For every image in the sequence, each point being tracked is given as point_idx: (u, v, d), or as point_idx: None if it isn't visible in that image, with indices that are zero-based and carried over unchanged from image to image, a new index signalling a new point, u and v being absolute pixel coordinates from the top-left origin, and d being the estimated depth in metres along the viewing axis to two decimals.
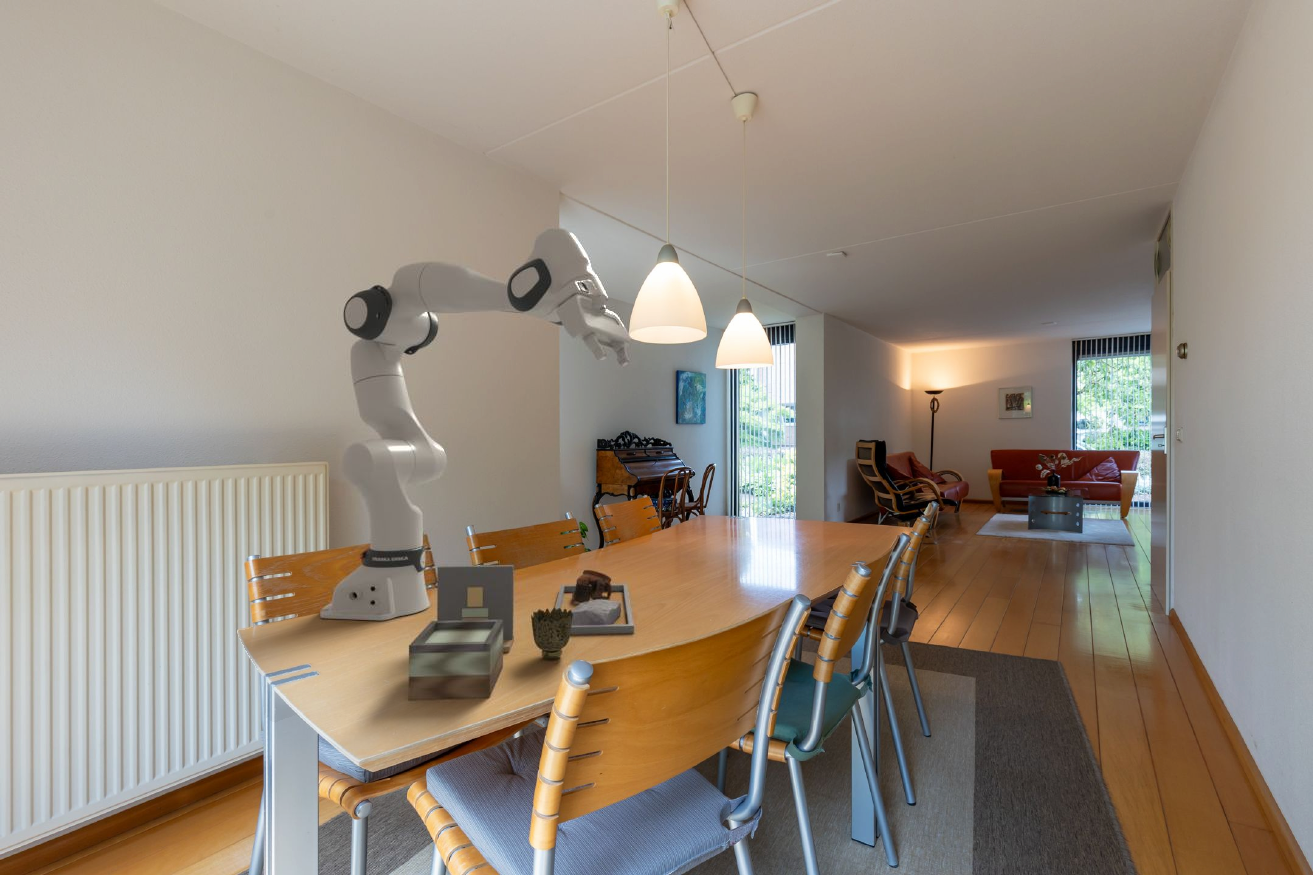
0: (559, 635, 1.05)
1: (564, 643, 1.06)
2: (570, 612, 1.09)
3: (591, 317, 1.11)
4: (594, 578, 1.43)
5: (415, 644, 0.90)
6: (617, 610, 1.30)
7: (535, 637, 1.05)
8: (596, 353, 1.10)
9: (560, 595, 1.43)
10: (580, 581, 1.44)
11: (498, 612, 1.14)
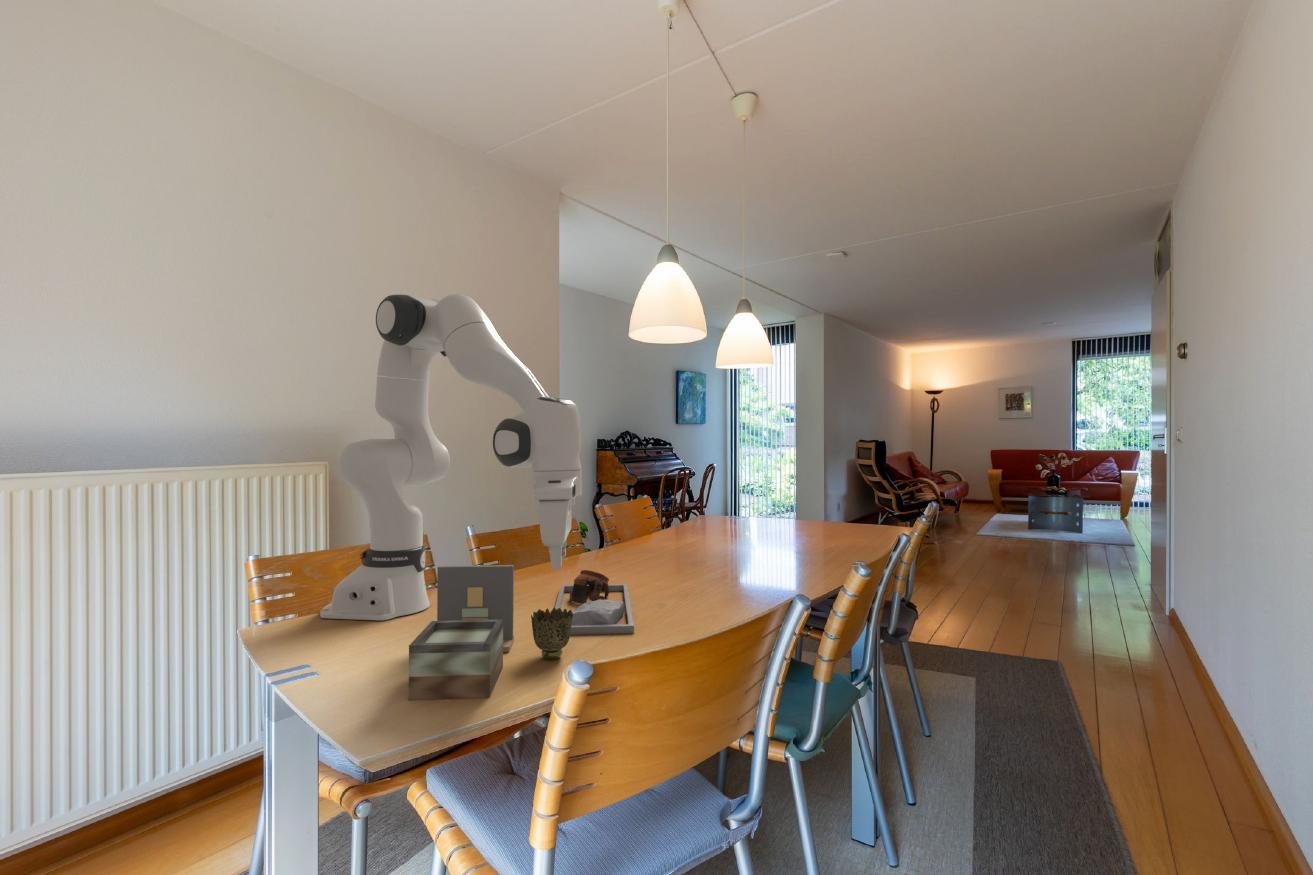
0: (559, 635, 1.05)
1: (564, 643, 1.06)
2: (570, 612, 1.09)
3: None
4: (592, 578, 1.43)
5: (415, 644, 0.90)
6: (620, 610, 1.30)
7: (535, 637, 1.05)
8: (553, 562, 1.02)
9: (560, 595, 1.43)
10: (578, 581, 1.44)
11: (498, 612, 1.14)
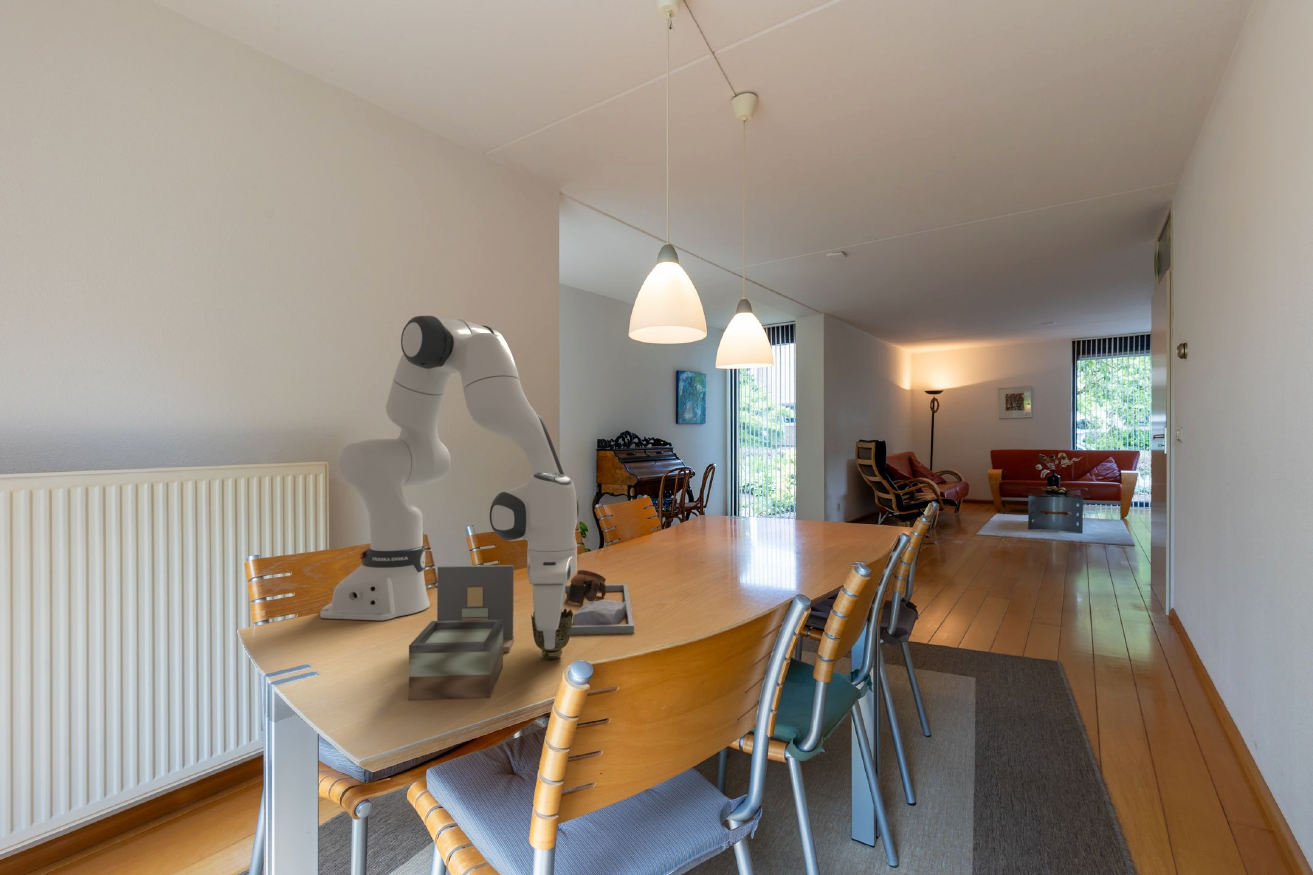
0: (559, 635, 1.05)
1: (564, 643, 1.06)
2: (570, 612, 1.09)
3: None
4: (588, 578, 1.43)
5: (415, 644, 0.90)
6: (623, 611, 1.30)
7: (535, 637, 1.05)
8: (547, 642, 1.03)
9: None
10: (574, 581, 1.43)
11: (498, 612, 1.14)
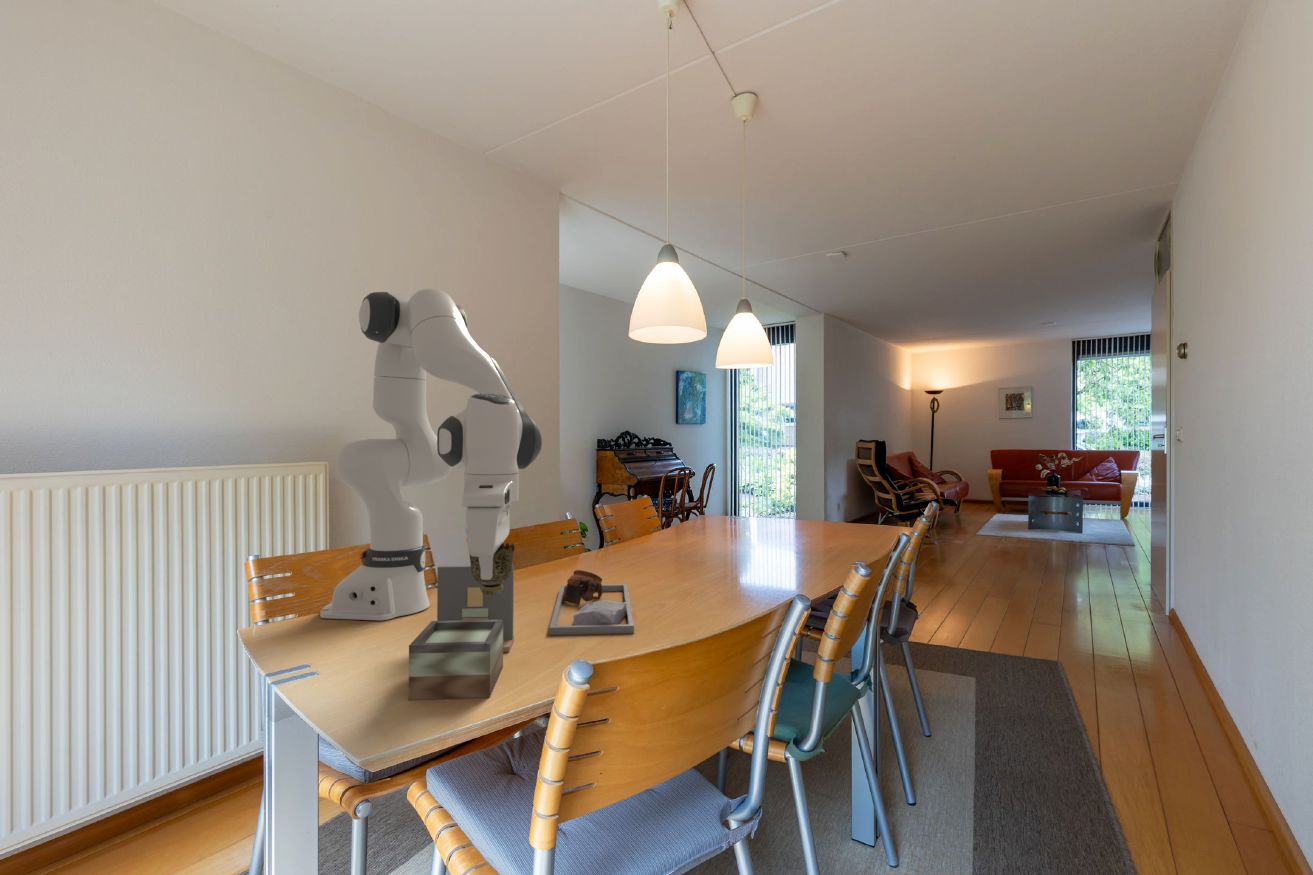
0: (498, 567, 0.97)
1: (504, 577, 0.98)
2: (512, 546, 1.02)
3: (497, 531, 0.95)
4: (585, 578, 1.43)
5: (415, 644, 0.90)
6: (623, 611, 1.30)
7: (473, 570, 0.98)
8: (484, 572, 0.95)
9: (560, 595, 1.43)
10: (571, 581, 1.43)
11: (498, 612, 1.14)
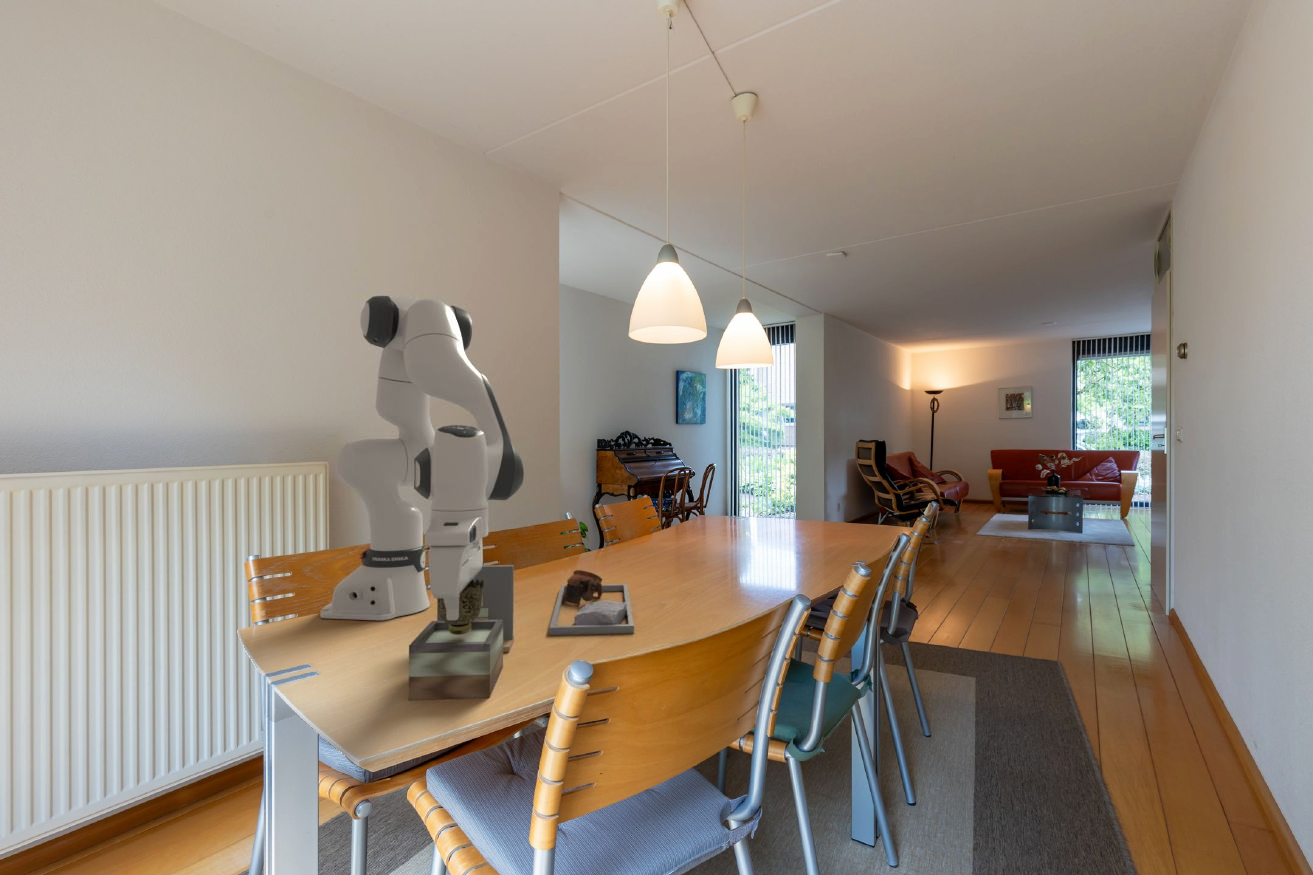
0: (465, 606, 0.94)
1: (472, 616, 0.95)
2: (482, 582, 0.98)
3: (463, 569, 0.91)
4: (585, 578, 1.43)
5: (415, 644, 0.90)
6: (624, 611, 1.30)
7: (439, 609, 0.94)
8: (449, 612, 0.92)
9: (560, 595, 1.43)
10: (571, 581, 1.43)
11: (498, 612, 1.14)
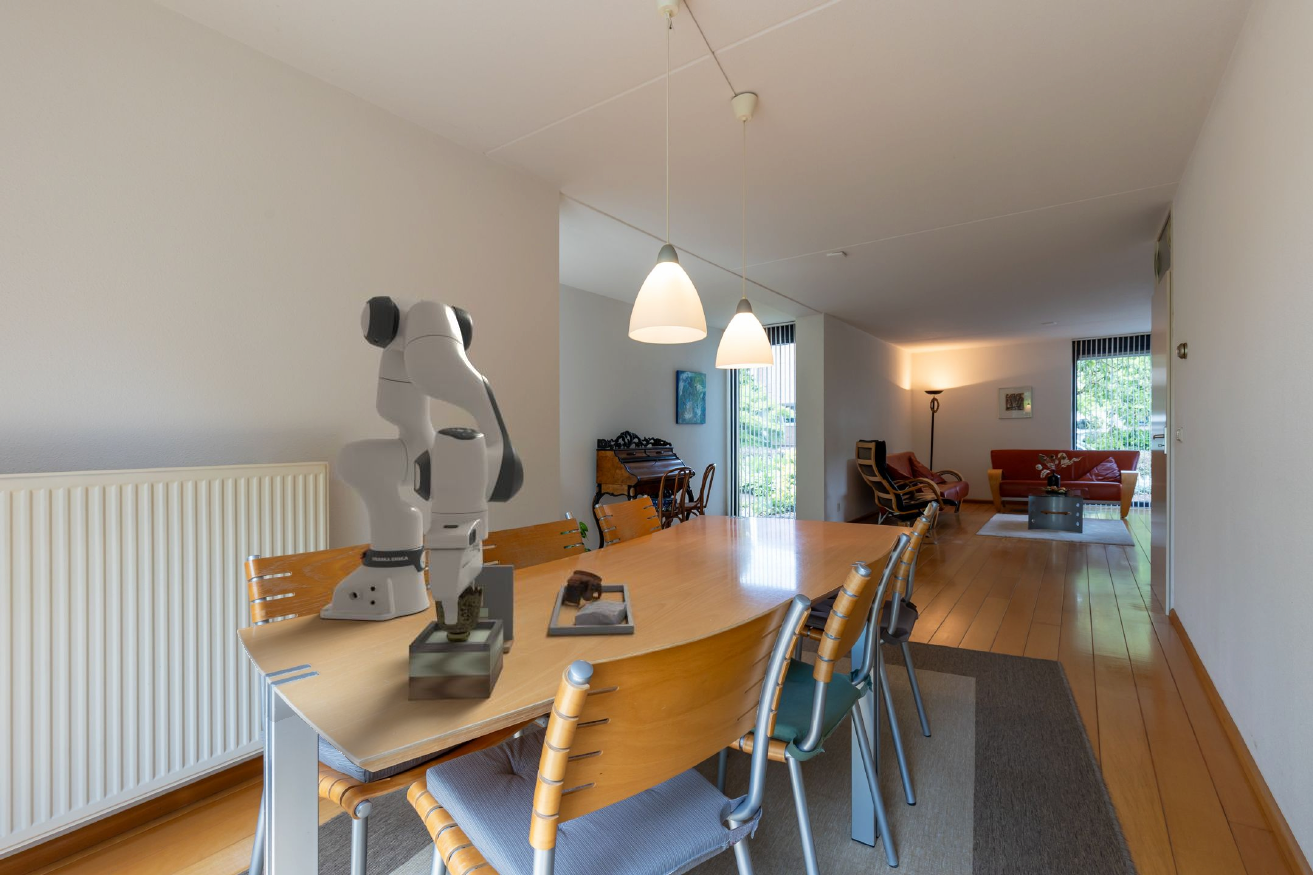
0: (464, 614, 0.93)
1: (471, 624, 0.94)
2: (481, 590, 0.98)
3: (463, 572, 0.91)
4: (585, 578, 1.43)
5: (415, 644, 0.90)
6: (624, 611, 1.30)
7: (437, 617, 0.94)
8: (448, 616, 0.91)
9: (560, 595, 1.43)
10: (571, 581, 1.43)
11: (498, 612, 1.14)
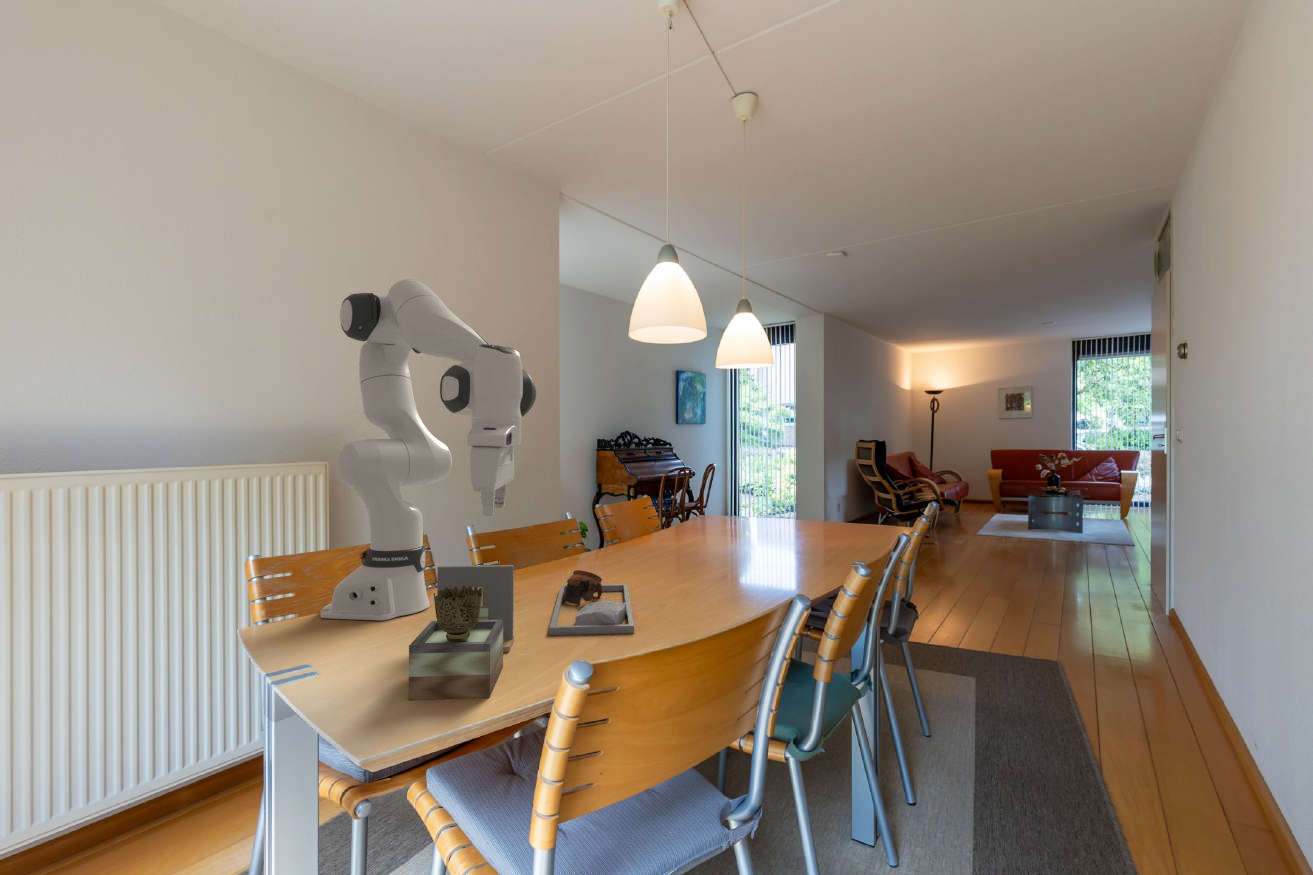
0: (463, 615, 0.93)
1: (470, 624, 0.94)
2: (480, 590, 0.97)
3: (500, 470, 1.03)
4: (585, 578, 1.43)
5: (415, 644, 0.90)
6: (624, 611, 1.30)
7: (437, 617, 0.94)
8: (486, 508, 1.02)
9: (560, 595, 1.43)
10: (571, 581, 1.43)
11: (498, 612, 1.14)
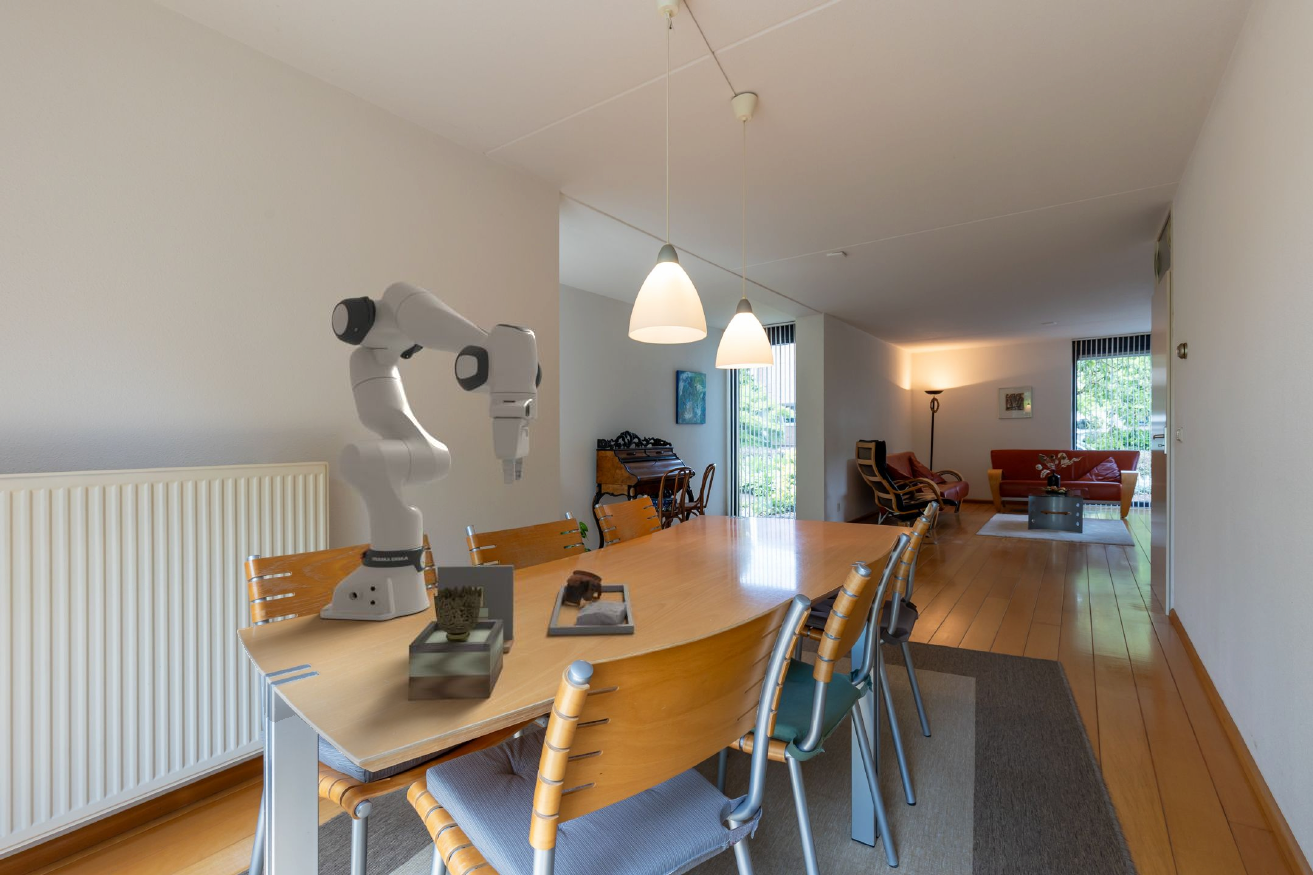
0: (463, 615, 0.93)
1: (470, 624, 0.94)
2: (480, 590, 0.97)
3: (519, 441, 1.09)
4: (585, 578, 1.43)
5: (415, 644, 0.90)
6: (624, 611, 1.30)
7: (437, 617, 0.94)
8: (507, 477, 1.08)
9: (560, 595, 1.43)
10: (571, 581, 1.43)
11: (498, 612, 1.14)
